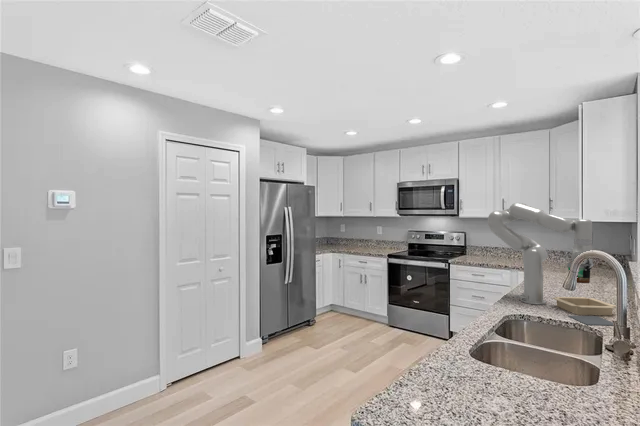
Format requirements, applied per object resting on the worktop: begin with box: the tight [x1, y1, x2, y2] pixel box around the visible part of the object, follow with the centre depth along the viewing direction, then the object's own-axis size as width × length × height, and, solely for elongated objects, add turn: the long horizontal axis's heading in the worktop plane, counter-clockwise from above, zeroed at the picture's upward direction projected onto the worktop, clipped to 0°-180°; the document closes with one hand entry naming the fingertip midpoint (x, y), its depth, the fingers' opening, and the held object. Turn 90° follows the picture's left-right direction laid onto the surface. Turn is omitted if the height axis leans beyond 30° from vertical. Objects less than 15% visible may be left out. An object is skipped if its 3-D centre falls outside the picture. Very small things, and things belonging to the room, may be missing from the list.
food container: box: [566, 262, 591, 284], centre depth 186 cm, size 12×6×10 cm, turn 96°
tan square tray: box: [552, 296, 617, 316], centre depth 186 cm, size 22×22×4 cm
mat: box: [567, 315, 614, 327], centre depth 168 cm, size 14×14×1 cm
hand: (582, 276), depth 187 cm, fingers closed on food container, 5 cm apart
